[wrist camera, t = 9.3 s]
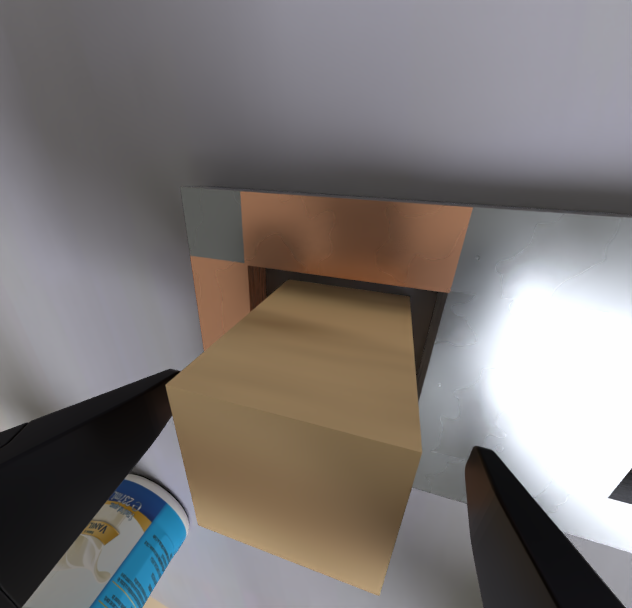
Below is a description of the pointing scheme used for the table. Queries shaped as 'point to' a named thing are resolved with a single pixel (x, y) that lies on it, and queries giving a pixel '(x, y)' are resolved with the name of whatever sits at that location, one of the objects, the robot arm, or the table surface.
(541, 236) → the rail frame
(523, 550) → the robot arm
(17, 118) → the table surface
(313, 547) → the wooden block
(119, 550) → the beverage bottle
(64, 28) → the table surface
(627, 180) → the table surface
